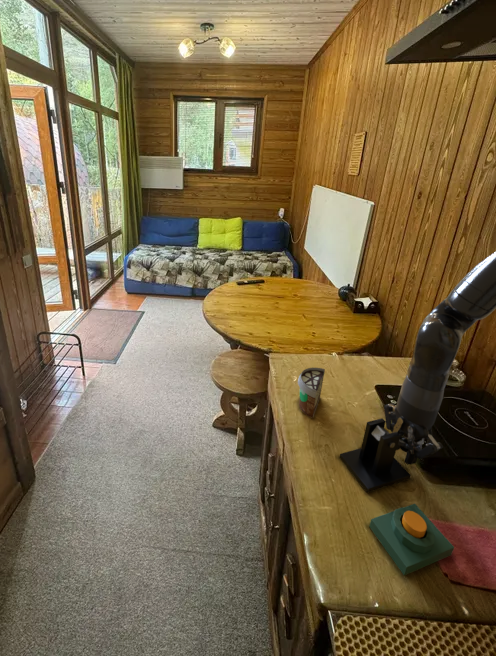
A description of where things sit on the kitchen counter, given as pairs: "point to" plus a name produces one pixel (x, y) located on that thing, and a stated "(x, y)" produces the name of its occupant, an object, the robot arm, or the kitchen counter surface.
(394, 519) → the button panel
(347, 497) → the kitchen counter surface
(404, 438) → the lever
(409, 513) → the button
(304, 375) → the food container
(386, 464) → the bracket
